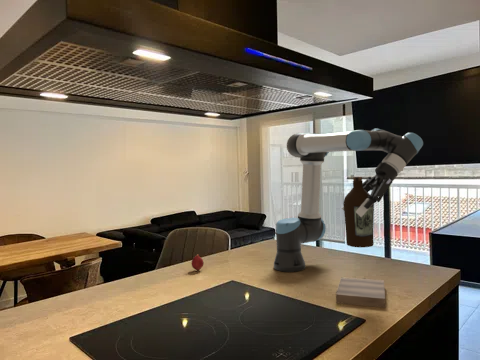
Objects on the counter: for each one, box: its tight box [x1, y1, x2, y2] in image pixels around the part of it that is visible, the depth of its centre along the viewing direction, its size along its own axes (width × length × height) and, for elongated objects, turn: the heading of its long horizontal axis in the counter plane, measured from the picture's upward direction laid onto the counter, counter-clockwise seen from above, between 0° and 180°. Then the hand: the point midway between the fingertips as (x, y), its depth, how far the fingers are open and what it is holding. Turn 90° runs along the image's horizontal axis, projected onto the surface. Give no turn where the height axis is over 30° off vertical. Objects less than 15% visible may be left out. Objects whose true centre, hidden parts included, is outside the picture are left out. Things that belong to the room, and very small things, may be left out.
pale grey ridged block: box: [335, 276, 386, 308], centre depth 129 cm, size 20×16×3 cm
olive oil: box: [343, 176, 375, 248], centre depth 128 cm, size 11×11×25 cm
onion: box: [191, 254, 204, 272], centre depth 170 cm, size 6×6×8 cm
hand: (351, 212), depth 128 cm, fingers closed on olive oil, 10 cm apart
